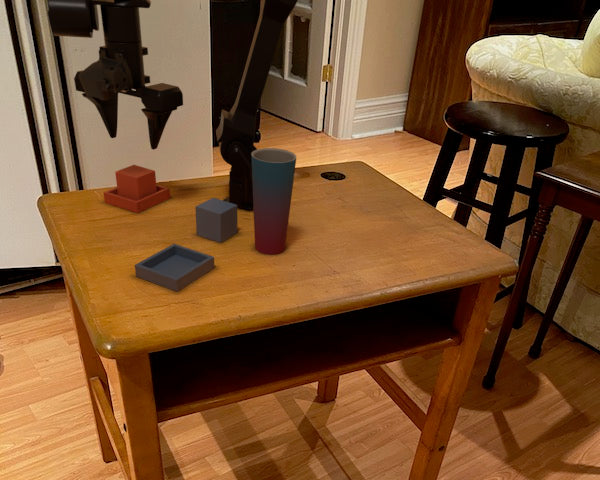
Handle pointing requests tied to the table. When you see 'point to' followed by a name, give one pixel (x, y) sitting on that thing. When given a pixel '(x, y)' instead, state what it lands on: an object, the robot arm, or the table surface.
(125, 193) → the rust block
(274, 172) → the cup
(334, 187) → the table surface
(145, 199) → the rust tray
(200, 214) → the blue block
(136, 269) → the blue tray
